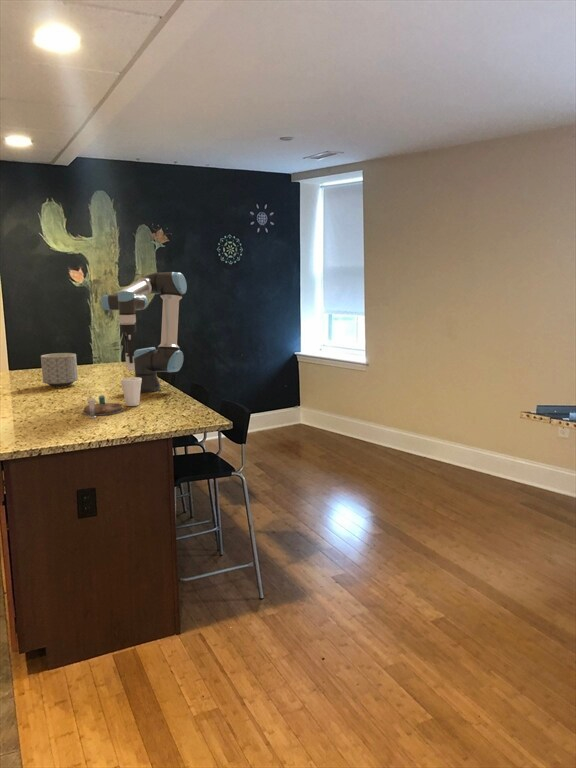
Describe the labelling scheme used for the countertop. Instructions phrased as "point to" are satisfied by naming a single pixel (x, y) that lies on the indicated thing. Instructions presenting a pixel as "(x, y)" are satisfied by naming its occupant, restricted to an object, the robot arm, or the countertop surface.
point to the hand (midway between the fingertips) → (130, 368)
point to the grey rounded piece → (92, 407)
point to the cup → (131, 390)
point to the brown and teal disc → (104, 407)
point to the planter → (59, 369)
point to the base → (104, 413)
